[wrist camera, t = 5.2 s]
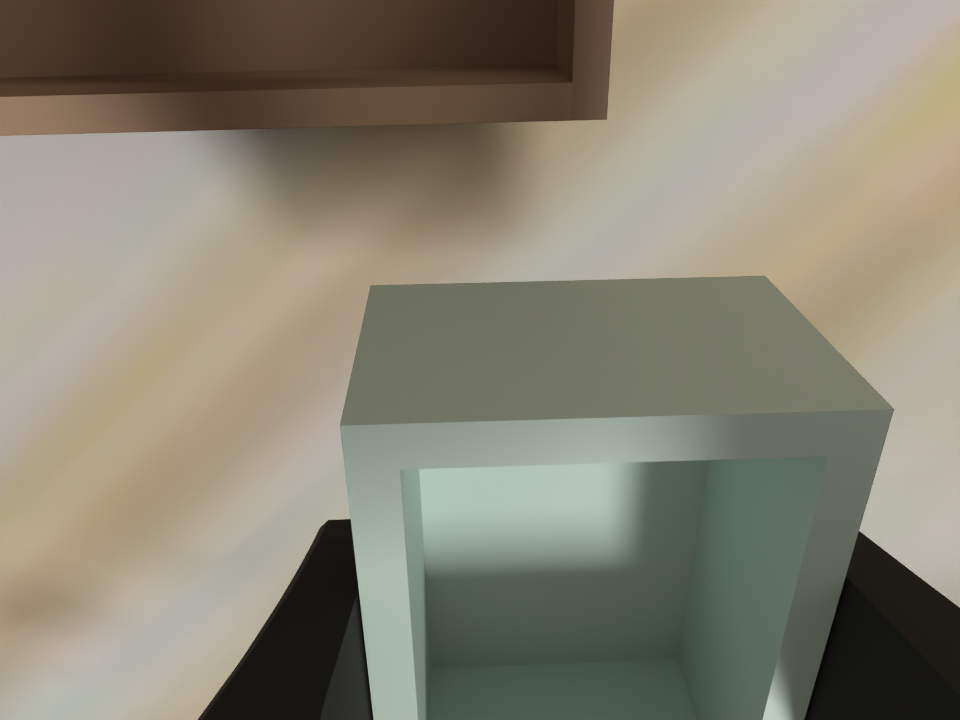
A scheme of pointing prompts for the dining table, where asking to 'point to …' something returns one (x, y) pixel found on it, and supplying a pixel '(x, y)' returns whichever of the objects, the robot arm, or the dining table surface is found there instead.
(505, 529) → the box
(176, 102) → the walnut crate
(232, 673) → the robot arm
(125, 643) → the dining table surface
